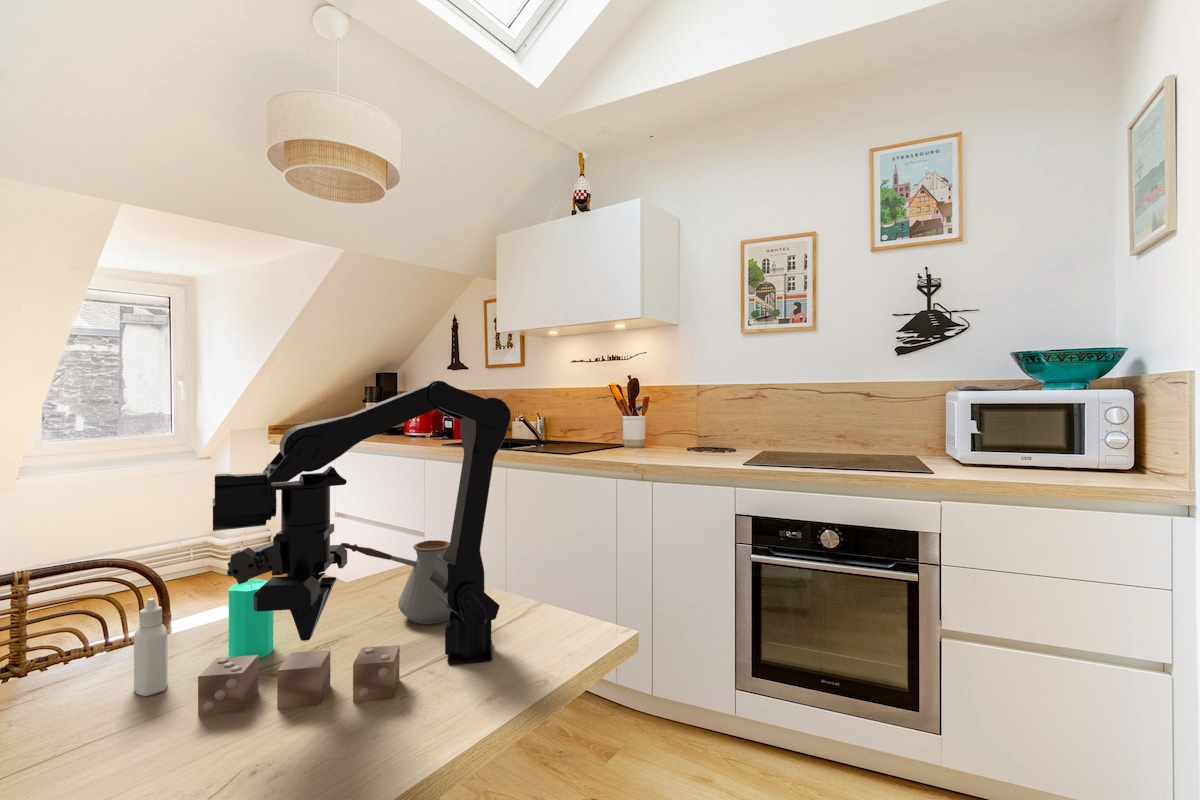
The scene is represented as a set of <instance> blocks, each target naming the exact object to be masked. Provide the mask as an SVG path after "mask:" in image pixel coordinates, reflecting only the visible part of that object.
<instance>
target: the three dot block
mask: <svg viewBox="0 0 1200 800" xmlns="http://www.w3.org/2000/svg"><path fill="white" fill-rule="evenodd" d="M258 692H259V659H258V655H251V656H237V657H229V656H226V657H216V659H214V660H212V662H211V663H210V664H209V665H208V666H207V667H206V668H205V669H204V670H203V671H202V672H201V673H200V674H199V675H198V676H197V717H200V716H201V717H202V716H213V715H214V716H215V715H223V714H237V713H243V712H244V711H245V709H246V708H247V707H248V706H249V704H251V702H252V701H253V699H254V698H255V697H256V695H257V694H258Z"/></svg>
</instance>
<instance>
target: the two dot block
mask: <svg viewBox="0 0 1200 800" xmlns="http://www.w3.org/2000/svg"><path fill="white" fill-rule="evenodd" d="M400 650H401V649H400V645H399V644H396V645H393V644H392V645H381V646H369V647H368V646H365V647H361V648H360V650H359V652H358V654H357V656H356V659H355V660H354V662H353V664H352V702H353V703H359V702H360V703H361V702H371V701H372V702H373V701H384V700H394V699H395V695H396V693H397V689H398V686H399V682H400V659H401V658H400V657H401V656H400V652H401V651H400Z"/></svg>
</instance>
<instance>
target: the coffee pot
mask: <svg viewBox="0 0 1200 800" xmlns="http://www.w3.org/2000/svg"><path fill="white" fill-rule="evenodd" d="M449 544H450V541H445V540H437V539H436V540H430V539H429V540H424V541H421V542H417V543H415V544H414V545H413V550H414V551H416V552H415V553H416V556H417V557H416V560H411V559H408V558H403V557H399V556H395V555H392V554H389V553H386V552H384V551H381V550H377V549H374V548H371V547H363V546H358V544H350V543H348V542H341V543H340V545H341V546H343V547H344V548H345V549H346V550H347V549H349V550H351V551H352V552H358V553H361V554H363V555H365V556H368V557H369V556H370V557H374V558H379V559H383V560H388V561H393V562H397V563H399V564H404V565H407V566H411V567H412V568H411V571H410V573H409V576H408V578H407V581H406V583H405V585H404V587H403V589H402V592H401V595H400V596H399V599H398V602H397V604H398V608H399V611H400V612H401V614H402V615H404V616H405V617H406V618H408V619H409V621H410V622H412V623H414V624H417V625H418V624H419V625H433V623H434V624H440V623H443V621H444V622H447V621H449V617H450V611H452V610H450V609H448V608H447V606H446V604H445V603H444V602H443V601H442V600H441V599H440V598H439V597H438V596H437V595H436V594H435V592H434V589H433V583H432V582H431V581H430V580H429V579H430V577H431V576H432V573H433V570H434V556H435V555H441V556H443V555H444V553H445V552H446V550H447V548H448V547H449Z"/></svg>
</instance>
